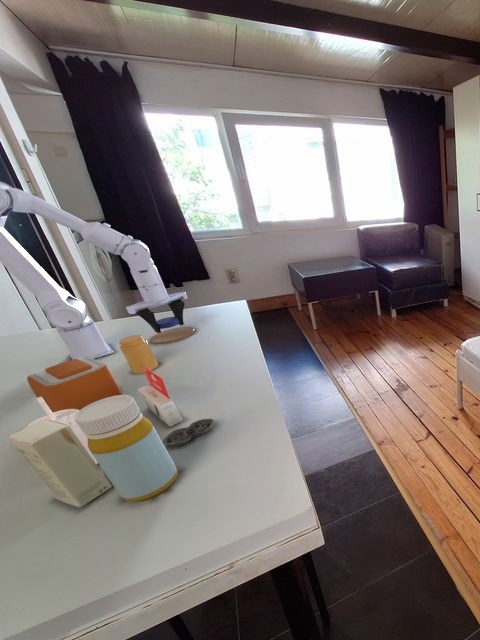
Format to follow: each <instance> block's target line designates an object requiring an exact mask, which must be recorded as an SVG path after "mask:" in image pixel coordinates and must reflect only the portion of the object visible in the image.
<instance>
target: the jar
mask: <svg viewBox="0 0 480 640" xmlns="http://www.w3.org/2000/svg"><path fill="white" fill-rule="evenodd" d="M118 344H119V345H120V346H119V349H120V351H121V353H122V354H123V356H124V359H125V361H126V362H127V364H128V366H129V369H130V370H131V371H132V373H133V374H145V373H144V371H143V369H142V367H141V365H143V366H144V367H146V368H147V369H149V370H151V371H153V370H155V369H157V368H158V367H159V363H158V360H157V358H156V357H155V354H154V352H153V350H152V348H151V347H150V344H149V342H148V340H147V339H145V338H144V336H143V335H142V334H134V335H128V336H126V337H123V338H120V339H119V340H118Z"/></svg>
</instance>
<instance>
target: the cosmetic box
mask: <svg viewBox="0 0 480 640" xmlns="http://www.w3.org/2000/svg"><path fill="white" fill-rule="evenodd" d="M6 439H7V440H8V441H9V442H10V444H11V445H12V447H14V449H15V450H16V451H17V452H18V453H19V455H20V456H21V457H22V459H23V460H24V461H25V462H26V463H27V465H28V466H29V467H30V468H31V469H32V471H33V472H34V473H35V474H36V476H37V477H38V478H39V479H40V480H41V482H42V483H43V485H44V486H45V487H46V488H47V489H48V490H49V492H50V493H51V494H52V495H53V496H54V497H55V499H56V500H58V501H60V502H62V503H65V504H68V505H71V506H74V507H77V508H82V507H84V506H85V505H87V504H89V503H90V502H92V501H93V500H94V499H96V498H97V497H99V496H100V495H102V494H104V493H105V492H107V491H108V490H109V489H111V488H112V487H113V484H112V483H111V482H110V480H108V479H107V478H108V477H106V476H105V473H103V472H102V470H101V469H100V468H99V467H100V466H98V464H96V463H95V462H94V460H93V459H92V457H91V456H90V455H89V453H88V452H87V450H86V449H85V448H84V446H83V445H82V443H81V442H80V441H79V439H78V438H77V436H76V435H75V433H74V432H73V431H72V429H71V428H70V426H69V425H67V424H64V423H60V422H56V421H51V420H46V419H45V420H43V421H41V422H38V423H36V424H34V425H32V426H30V427H28V428H26V427H24V428H23V429H21V430H19V431H17V432H14V433H12V434H10V435H8V436H7V437H6Z"/></svg>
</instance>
